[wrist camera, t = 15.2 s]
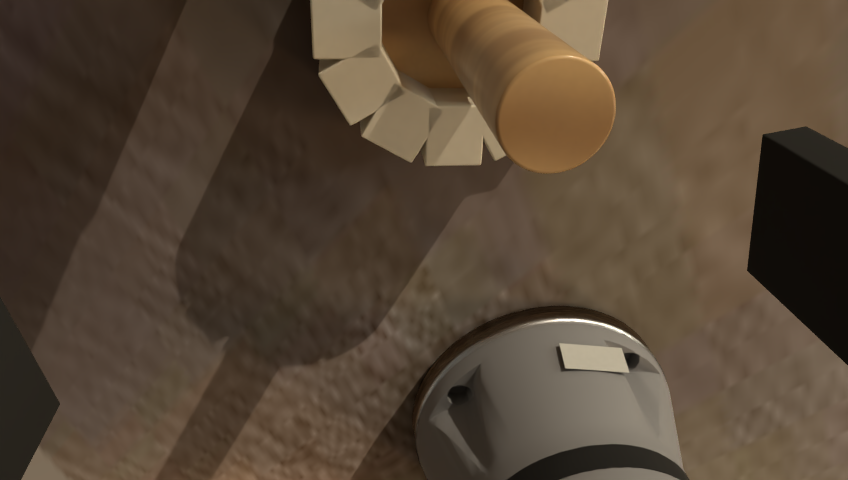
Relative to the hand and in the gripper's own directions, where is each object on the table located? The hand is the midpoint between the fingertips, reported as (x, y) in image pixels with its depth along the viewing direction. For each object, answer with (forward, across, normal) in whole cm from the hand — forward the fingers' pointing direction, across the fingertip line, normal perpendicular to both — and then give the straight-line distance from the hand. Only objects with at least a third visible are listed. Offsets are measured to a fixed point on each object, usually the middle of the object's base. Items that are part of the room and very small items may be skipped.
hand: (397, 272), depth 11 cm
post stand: (+20, -4, 0) cm, 20 cm away
